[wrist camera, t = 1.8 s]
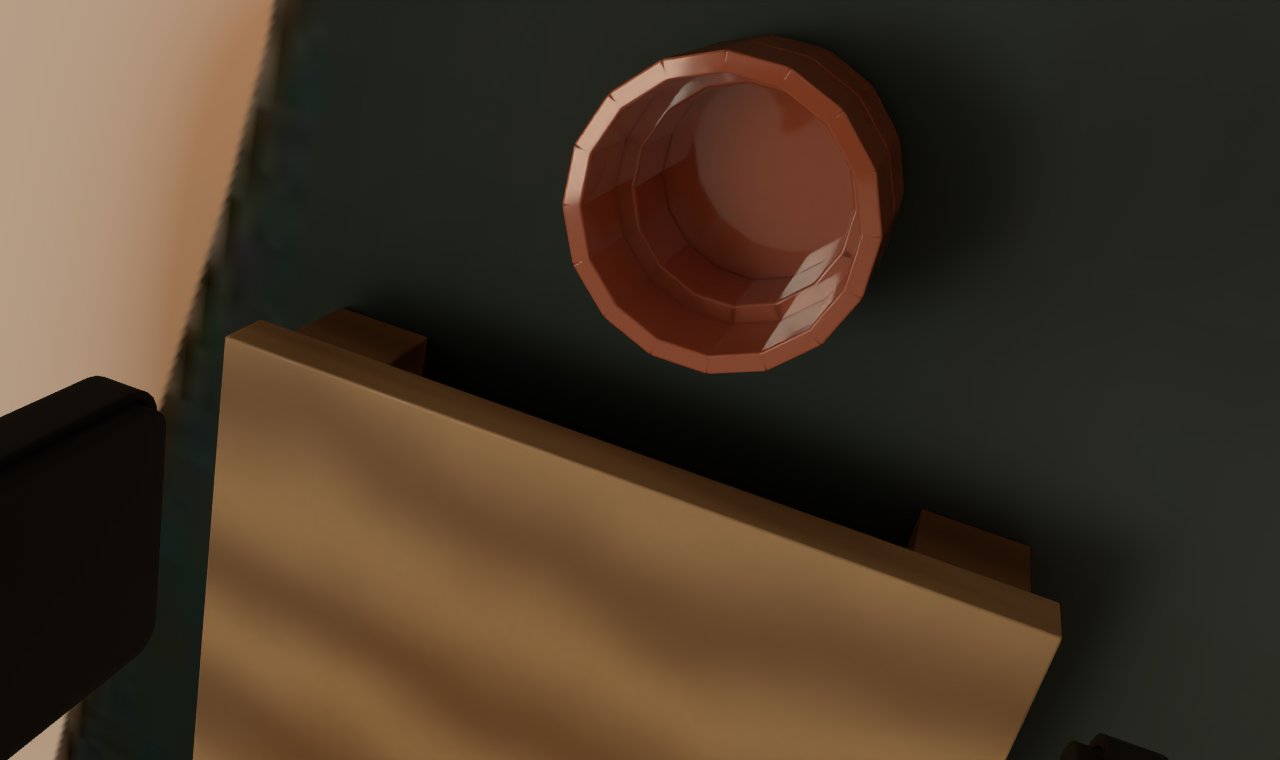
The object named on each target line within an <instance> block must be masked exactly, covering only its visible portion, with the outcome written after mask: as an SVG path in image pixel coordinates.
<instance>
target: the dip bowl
mask: <svg viewBox="0 0 1280 760" xmlns="http://www.w3.org/2000/svg"><path fill="white" fill-rule="evenodd" d="M871 86H872V85H871V83H869V82H868V81H867V80H866V79H864V78H863V77H862V76H861V75H859V74H858V73H857V72H856V71H854V70H853V69H852V68H851V67H849V66H848V65H847V64H846V63H844V62H843V61H842V60H841V59H840V58H838V57H837V56H836V55H835V54H833V53H832V52H831V51H830V50H827V51H826V50H825V49H824V48H822V47H818V46H814V45H810V44H807V43H803V42H799V41H796V40H792V39H788V38H785V37H781V36H777V35H774V36H771V35H763V36H757V37H750V38H744V39H737V40H730V41H724V42H719V43H716V44H712V45H709V46H705V47H702V48H698V49H695V50H691V51H687V52H684V53H680V54H677V55H674V56H670V57H667V58H664V59H662V60H659V61H657V62H656V63H654V64H653V65H651V66H650V67H648V68H646V69H645V70H643V71H642V72H640V73H639V74H637V75H635V76H634V77H632V78H631V79H629V80H628V81H626V82H625V83H623V84H621V85H620V86H618V87H617V88H615V89H614V90H612V91H611V92H610V93H609V94H608V95H607V96H606V97H605V99H604V100H603V102H602V103H601V105H600V106H599V108H598V109H597V111H596V112H595V114H594V115H593V117H592V118H591V120H590V121H589V123H588V124H587V126H586V127H585V129H584V130H583V132H582V133H581V135H580V136H579V138H578V139H577V141H576V142H575V145H574V148H573V153H572V158H571V163H570V168H569V173H568V178H567V183H566V188H565V193H564V198H563V212H564V217H565V223H566V229H567V234H568V240H569V246H570V251H571V257H572V262H573V264H574V267H575V269H576V271H577V272H578V274H579V276H580V277H581V279H582V281H583V283H584V284H585V286H586V288H587V289H588V291H589V293H590V294H591V296H592V298H593V299H594V301H595V303H596V305H597V306H598V308H599V310H600V311H601V313H602V315H603V316H605V318H606V319H607V320H608V321H609V322H611V323H612V324H613V325H614V326H616V327H617V328H618V329H619V330H621V331H622V332H623V333H624V334H625V335H627V336H628V337H629V338H630V339H632V340H633V341H634V342H635V343H636V344H638V345H639V346H640V347H641V348H643V349H644V350H645V351H646V352H647V353H649V354H651V355H653V356H655V357H658V358H661V359H664V360H667V361H670V362H673V363H676V364H679V365H682V366H685V367H688V368H691V369H694V370H697V371H700V372H703V373H708V374H716V373H736V372H755V371H766V370H770V369H772V368H774V367H776V366H778V365H781V364H783V363H785V362H787V361H789V360H791V359H793V358H795V357H797V356H800V355H802V354H804V353H806V352H808V351H810V350H812V349H814V348H816V347H819V346H820V345H821V344H823V343H824V342H825V341H826V340H827V339H828V337H829V336H830V335H831V334H832V333H833V332H834V331H835V330H836V328H837V327H838V326H839V325H840V324H841V323H842V322H843V320H844V319H845V318H846V317H847V316H848V315H849V314H850V313H851V311H852V310H853V309H854V308H855V307H856V306H857V305H858V304H859V302H860V301H861V300H862V298H863V296H864V294H865V292H866V290H867V288H868V286H869V284H870V281H871V279H872V277H873V275H874V273H875V271H876V268H877V266H878V264H879V262H880V259H881V257H882V255H883V253H884V251H885V249H886V247H887V244H888V242H889V239H890V236H891V233H892V230H893V227H894V223H895V220H896V217H897V214H898V211H899V208H900V205H901V202H902V199H903V192H904V182H903V171H902V159H901V147H900V139H899V137H898V133H897V131H896V129H895V127H894V125H893V123H892V121H891V119H890V117H889V116H888V114H887V112H886V110H885V108H884V106H883V104H882V102H881V100H880V99H879V97H878V95H877V93H876V91H875V89H874V88H873V87H871Z"/></svg>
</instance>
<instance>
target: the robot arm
mask: <svg viewBox="0 0 1280 760" xmlns="http://www.w3.org/2000/svg"><path fill="white" fill-rule="evenodd" d="M165 438H166V421H165V418H164V416H163V414H162V413H160V412H159V411H157V405H156V403H155V400H154V398H153V397H152V396H151V395H150V394H149V393H148V392H145V391H142V390H139V389H136V388H133V387H131V386H128V385H125V384H123V383H120V382H117V381H114V380H111V379H109V378H106V377H101V376H93V377H89V378H86V379H84V380H82V381H80V382H77V383H75V384H73V385H71V386H68V387H66V388H64V389H62V390H60V391H57V392H55V393H53V394H51V395H49V396H46V397H44V398H42V399H40V400H38V401H35V402H33V403H31V404H29V405H27V406H24V407H22V408H20V409H17V410H15V411H13V412H11V413H9V414H6V415H4V416H2V417H0V760H8V759H9V758H10V757H11V756H13V755H14V754H15V753H16V752H18V751H19V750H20V749H21V748H23V747H24V746H25V745H26V744H28V743H29V742H30V741H31V740H32V739H34V738H35V737H37V736H38V735H39V734H40V733H42V732H43V731H44V730H45V729H47V727H49V726H50V725H51V724H53V723H54V722H55V721H57V720H58V719H59V718H60V717H62V716H63V715H64V714H65V713H67V712H68V711H69V710H70V709H72V708H73V707H74V706H75V705H77V704H78V703H79V702H80V701H82V700H83V699H84V698H85V697H87V696H88V695H89V694H90V693H92V692H93V691H94V690H95V689H97V688H98V687H99V686H100V685H102V684H103V683H104V682H105V681H107V680H108V679H109V678H110V677H112V676H113V675H114V674H115V673H117V672H118V671H119V670H120V669H122V668H123V667H124V666H125V665H127V664H128V663H129V662H130V661H132V660H133V659H134V658H135V657H136V656H137V655H138V654H139V653H140V652H141V651H142V650H143V649H144V647H145V646H146V645H147V643H148V641H149V639H150V637H151V635H152V633H153V630H154V627H155V621H156V604H157V586H158V567H159V549H160V530H161V512H162V493H163V475H164V456H165ZM1059 760H1168V758H1166V757H1165V756H1164V755H1162V754H1159V753H1156V752H1153V751H1150V750H1148V749H1145V748H1142V747H1139V746H1136V745H1134V744H1131V743H1128V742H1125V741H1122V740H1120V739H1117V738H1114V737H1111V736H1108V735H1106V734H1103V733H1101V734H1098V735H1096V736H1095V737H1094V739H1093V740H1092V741H1091V743H1090V744H1089V746H1088V745H1085V744H1082V743H1079V742H1077V741H1074V740H1073V741H1070V742H1069V743H1068V745H1067V746H1066V747H1065V749H1064V751H1063V753H1062V755H1061V757H1060V759H1059Z"/></svg>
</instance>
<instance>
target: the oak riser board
mask: <svg viewBox="0 0 1280 760" xmlns="http://www.w3.org/2000/svg"><path fill="white" fill-rule="evenodd" d="M427 342H428V338H427V337H425V336H422V335H419V334H416V333H413V332H410V331H407V330H405V329H402V328H399V327H396V326H393V325H390V324H387V323H384V322H382V321H379V320H376V319H373V318H370V317H367V316H364V315H361V314H358V313H356V312H353V311H350V310H347V309H344V308H339V309H337V310H336V311H334V312H332V313H330V314H328V315H326V316H324V317H322V318H320V319H318V320H316V321H314V322H312V323H310V324H309V325H307V326H305V327H303V328H301V329H299V330H297V331H292V330H289V329H286V328H283V327H281V326H278V325H275V324H272V323H269V322H266V321H264V320H259V321H257V322H255V323H253V324H251V325H249V326H247V327H245V328H242V329H240V330H238V331H236V332H234V333H232V334H230V335H228V336H226V338H225V350H224V363H223V376H222V389H221V402H220V415H219V428H218V441H217V454H216V467H215V480H214V493H213V505H212V518H211V531H210V544H209V557H208V570H207V583H206V596H205V609H204V622H203V635H202V648H201V661H200V674H199V687H198V700H197V713H196V726H195V739H194V752H193V760H1006V759H1007V756H1008V754H1009V752H1010V750H1011V748H1012V746H1013V743H1014V741H1015V739H1016V737H1017V735H1018V733H1019V731H1020V728H1021V726H1022V724H1023V722H1024V720H1025V718H1026V716H1027V713H1028V711H1029V709H1030V707H1031V705H1032V703H1033V700H1034V698H1035V696H1036V694H1037V692H1038V690H1039V688H1040V685H1041V683H1042V681H1043V679H1044V677H1045V675H1046V673H1047V670H1048V668H1049V666H1050V664H1051V662H1052V660H1053V657H1054V655H1055V653H1056V651H1057V649H1058V647H1059V645H1060V642H1061V640H1062V632H1061V615H1060V604H1059V603H1058V602H1055V601H1052V600H1049V599H1047V598H1044V597H1041V596H1038V595H1035V594H1033V593H1031V556H1030V547H1029V546H1027V545H1024V544H1021V543H1019V542H1016V541H1013V540H1010V539H1007V538H1004V537H1001V536H998V535H995V534H993V533H990V532H987V531H984V530H981V529H978V528H975V527H972V526H970V525H967V524H964V523H961V522H958V521H955V520H952V519H949V518H946V517H944V516H941V515H938V514H935V513H932V512H929V511H926V510H921V511H920V514H919V517H918V519H917V522H916V525H915V527H914V530H913V533H912V535H911V538H910V540H909V543H908V546H907V548H903V547H900V546H897V545H895V544H892V543H889V542H886V541H883V540H880V539H878V538H875V537H872V536H869V535H866V534H864V533H861V532H858V531H855V530H852V529H849V528H847V527H844V526H841V525H838V524H835V523H833V522H830V521H827V520H824V519H821V518H818V517H816V516H813V515H810V514H807V513H804V512H802V511H799V510H796V509H793V508H790V507H787V506H785V505H782V504H779V503H776V502H773V501H771V500H768V499H765V498H762V497H759V496H757V495H754V494H751V493H748V492H745V491H742V490H740V489H737V488H734V487H731V486H728V485H726V484H723V483H720V482H717V481H714V480H711V479H709V478H706V477H703V476H700V475H697V474H695V473H692V472H689V471H686V470H683V469H680V468H678V467H675V466H672V465H669V464H666V463H664V462H661V461H658V460H655V459H652V458H649V457H647V456H644V455H641V454H638V453H635V452H633V451H630V450H627V449H624V448H621V447H618V446H616V445H613V444H610V443H607V442H604V441H602V440H599V439H596V438H593V437H590V436H588V435H585V434H582V433H579V432H576V431H573V430H571V429H568V428H565V427H562V426H559V425H557V424H554V423H551V422H548V421H545V420H542V419H540V418H537V417H534V416H531V415H528V414H526V413H523V412H520V411H517V410H514V409H511V408H509V407H506V406H503V405H500V404H497V403H495V402H492V401H489V400H486V399H483V398H480V397H478V396H475V395H472V394H469V393H466V392H464V391H461V390H458V389H455V388H452V387H449V386H447V385H444V384H441V383H438V382H435V381H433V380H430V379H427V378H424V377H422V374H423V368H424V361H425V355H426V349H427Z"/></svg>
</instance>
